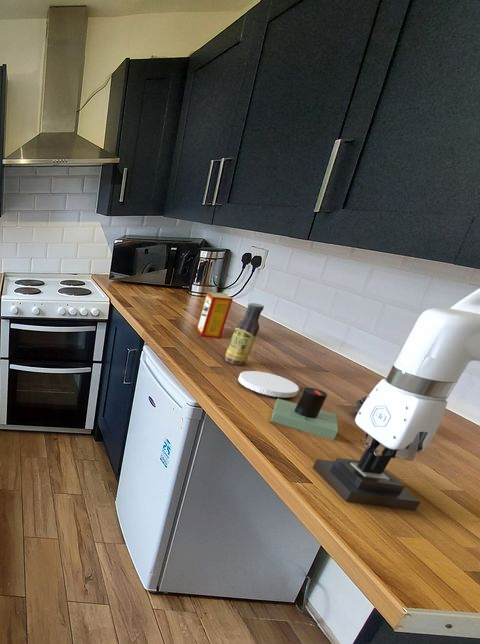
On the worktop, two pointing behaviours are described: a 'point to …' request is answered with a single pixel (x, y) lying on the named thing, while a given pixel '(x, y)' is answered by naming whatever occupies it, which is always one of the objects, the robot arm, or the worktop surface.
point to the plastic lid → (268, 384)
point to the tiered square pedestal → (364, 486)
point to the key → (369, 475)
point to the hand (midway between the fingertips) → (368, 470)
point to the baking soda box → (214, 314)
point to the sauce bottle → (244, 336)
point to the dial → (310, 402)
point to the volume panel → (305, 420)
